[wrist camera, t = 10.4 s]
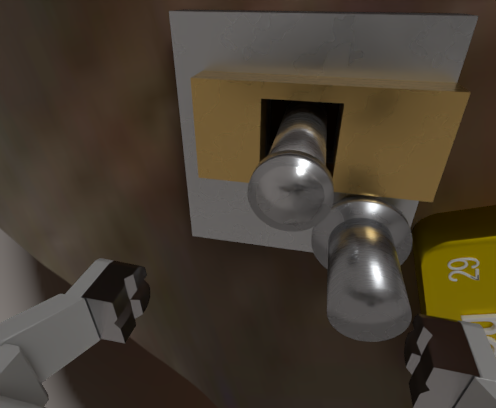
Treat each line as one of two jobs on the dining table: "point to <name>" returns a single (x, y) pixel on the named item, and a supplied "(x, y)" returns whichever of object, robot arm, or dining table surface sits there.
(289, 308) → the dining table surface
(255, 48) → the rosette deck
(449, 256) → the element tile
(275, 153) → the steel pin
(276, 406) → the dining table surface
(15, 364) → the robot arm
